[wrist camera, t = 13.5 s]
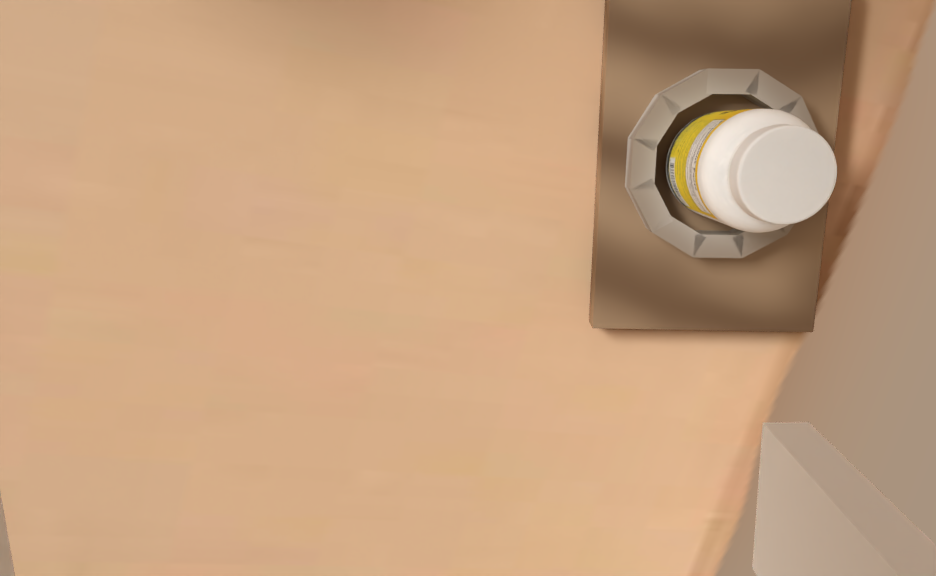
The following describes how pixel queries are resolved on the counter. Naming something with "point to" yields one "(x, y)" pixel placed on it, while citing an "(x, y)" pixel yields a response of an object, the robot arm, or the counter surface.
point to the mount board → (650, 136)
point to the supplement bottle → (751, 169)
